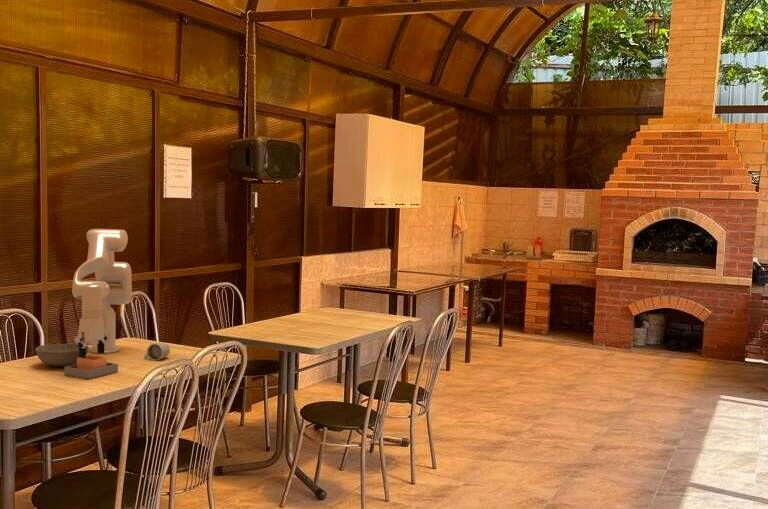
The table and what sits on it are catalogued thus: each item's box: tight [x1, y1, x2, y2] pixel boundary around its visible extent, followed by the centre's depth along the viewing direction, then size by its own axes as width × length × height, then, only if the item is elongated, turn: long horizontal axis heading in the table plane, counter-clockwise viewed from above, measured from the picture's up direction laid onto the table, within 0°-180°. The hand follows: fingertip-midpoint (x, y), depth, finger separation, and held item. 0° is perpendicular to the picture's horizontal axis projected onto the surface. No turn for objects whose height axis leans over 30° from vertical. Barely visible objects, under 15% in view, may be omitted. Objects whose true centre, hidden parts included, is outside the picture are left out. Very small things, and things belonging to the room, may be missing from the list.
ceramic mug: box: [144, 342, 171, 361], centre depth 338 cm, size 11×8×8 cm
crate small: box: [76, 354, 108, 370], centre depth 305 cm, size 9×7×6 cm
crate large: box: [63, 362, 119, 380], centre depth 305 cm, size 13×15×4 cm
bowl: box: [34, 343, 90, 367], centre depth 319 cm, size 21×21×8 cm
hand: (91, 355), depth 306 cm, fingers open, 9 cm apart
